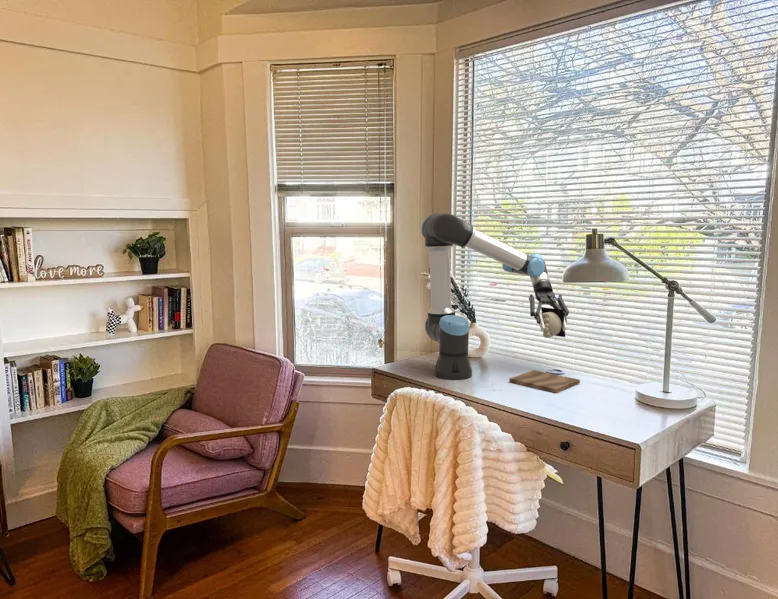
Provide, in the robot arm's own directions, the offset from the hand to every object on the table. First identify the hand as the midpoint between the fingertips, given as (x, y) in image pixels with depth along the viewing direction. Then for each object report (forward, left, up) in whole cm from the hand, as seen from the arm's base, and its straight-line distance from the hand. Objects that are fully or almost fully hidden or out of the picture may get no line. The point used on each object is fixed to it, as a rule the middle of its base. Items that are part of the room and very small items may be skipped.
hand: (554, 329), depth 234 cm
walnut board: (+4, -14, -19) cm, 24 cm away
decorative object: (-3, +2, -4) cm, 5 cm away
